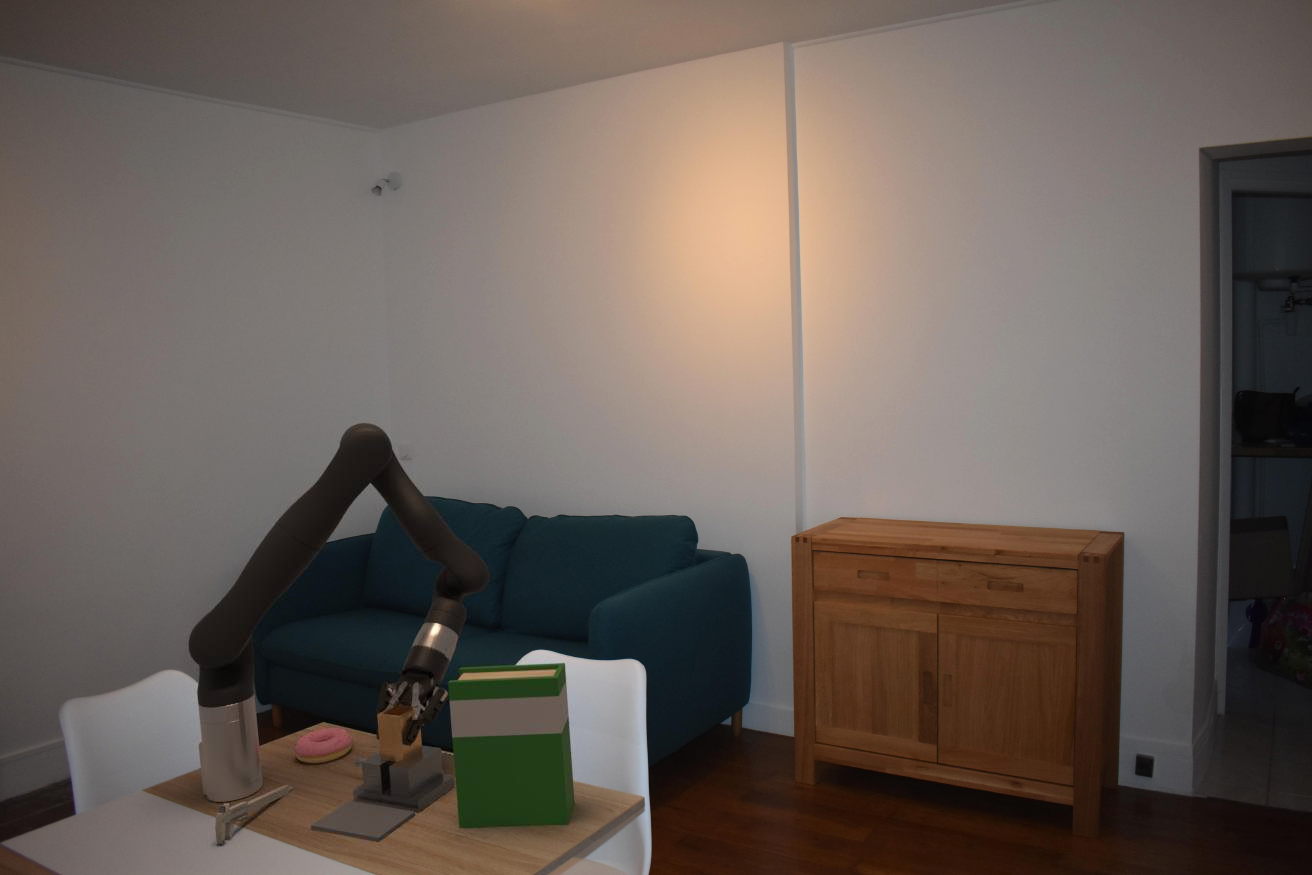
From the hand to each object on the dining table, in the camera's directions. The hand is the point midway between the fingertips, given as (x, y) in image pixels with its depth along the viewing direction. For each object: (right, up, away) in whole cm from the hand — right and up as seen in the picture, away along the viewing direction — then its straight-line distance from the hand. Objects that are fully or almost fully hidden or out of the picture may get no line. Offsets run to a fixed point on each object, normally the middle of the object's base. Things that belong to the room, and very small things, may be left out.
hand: (393, 741), depth 157 cm
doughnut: (-20, -11, +23) cm, 32 cm away
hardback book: (+23, -10, -8) cm, 26 cm away
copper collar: (+1, -3, +2) cm, 4 cm away
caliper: (-22, -12, -2) cm, 26 cm away
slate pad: (-3, -11, -7) cm, 13 cm away
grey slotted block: (0, -10, +3) cm, 10 cm away
